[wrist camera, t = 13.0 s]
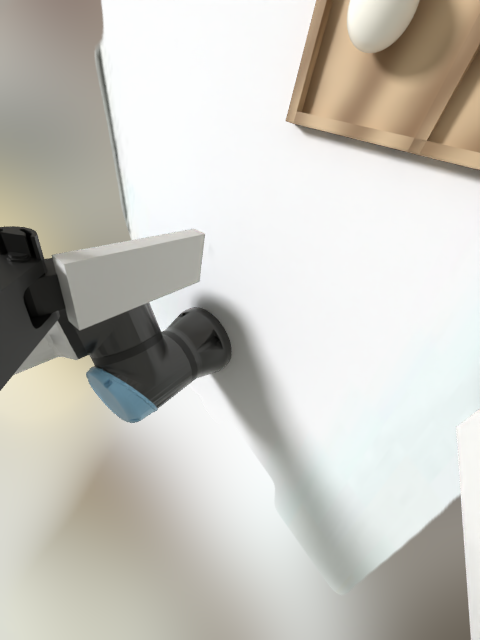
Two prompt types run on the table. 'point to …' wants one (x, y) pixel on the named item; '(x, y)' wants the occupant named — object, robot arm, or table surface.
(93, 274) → the robot arm
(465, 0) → the divided wooden tray
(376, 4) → the ceramic egg
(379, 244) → the table surface
